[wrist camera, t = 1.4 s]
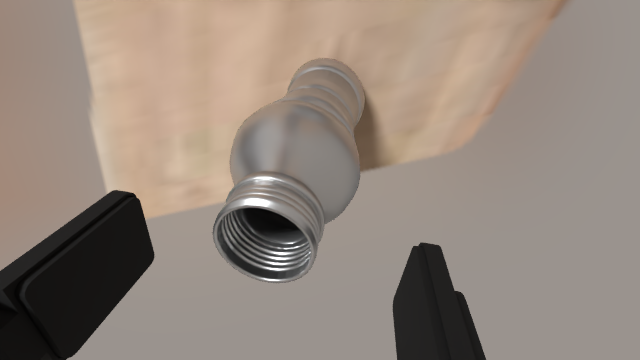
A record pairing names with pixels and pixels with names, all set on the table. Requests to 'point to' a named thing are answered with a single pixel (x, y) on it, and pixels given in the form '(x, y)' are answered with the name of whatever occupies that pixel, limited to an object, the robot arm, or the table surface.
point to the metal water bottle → (292, 174)
